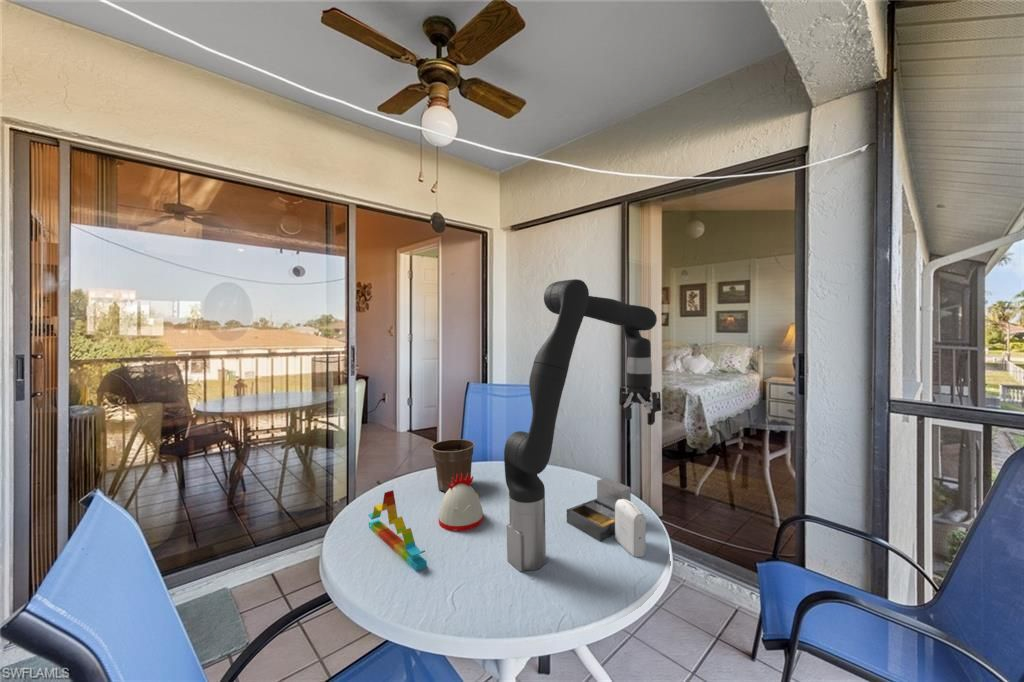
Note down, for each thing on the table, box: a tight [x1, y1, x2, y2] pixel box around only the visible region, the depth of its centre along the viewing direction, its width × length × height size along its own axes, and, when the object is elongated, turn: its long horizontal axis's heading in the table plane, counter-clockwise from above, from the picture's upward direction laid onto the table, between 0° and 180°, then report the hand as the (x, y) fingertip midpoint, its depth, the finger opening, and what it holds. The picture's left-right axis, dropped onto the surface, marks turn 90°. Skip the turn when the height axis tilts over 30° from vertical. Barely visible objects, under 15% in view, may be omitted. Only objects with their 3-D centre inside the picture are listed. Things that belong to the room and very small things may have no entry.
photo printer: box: [614, 499, 647, 558], centre depth 111 cm, size 10×4×12 cm, turn 17°
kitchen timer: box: [438, 473, 484, 532], centre depth 129 cm, size 14×14×15 cm
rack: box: [566, 477, 632, 543], centre depth 125 cm, size 17×14×11 cm
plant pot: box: [431, 438, 475, 493], centre depth 155 cm, size 16×16×16 cm
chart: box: [367, 489, 428, 572], centre depth 115 cm, size 30×3×15 cm, turn 41°
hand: (639, 421), depth 131 cm, fingers open, 8 cm apart
